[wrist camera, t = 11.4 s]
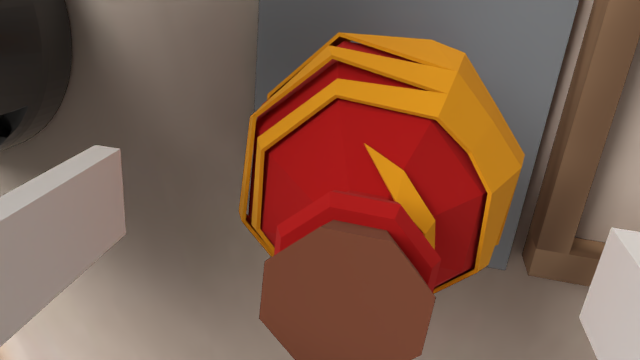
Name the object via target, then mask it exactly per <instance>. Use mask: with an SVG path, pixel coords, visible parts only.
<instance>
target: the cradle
mask: <svg viewBox="0 0 640 360" xmlns="http://www.w3.org/2000/svg"><path fill="white" fill-rule="evenodd" d="M639 37H640V0H594V3H593V7H592V10H591V14H590V17H589V21H588V24H587V28H586V31H585V35H584V38H583V42H582V45H581V49H580V52H579V56H578V59H577V63H576V67H575V70H574V74H573V77H572V81H571V84H570V88H569V91H568V95H567V98H566V102H565V105H564V109H563V112H562V116H561V119H560V123H559V126H558V130H557V133H556V137H555V140H554V144H553V147H552V151H551V154H550V158H549V162H548V165H547V169H546V172H545V176H544V179H543V183H542V186H541V190H540V193H539V197H538V200H537V204H536V207H535V211H534V214H533V218H532V221H531V225H530V228H529V232H528V235H527V239H526V242H525V246H524V250H523V253H522V257H523V260H524V263H525V266H526V270H527V273H528V275H530V276H535V277H541V278H546V279H552V280H557V281H562V282H568V283H573V284H579V285H584V286H590V285H591V282H592V280H593V277H594V274H595V271H596V269H597V266H598V263H599V260H600V257H601V255H602V252H603V249H604V246H605V244H606V243H604V242H598V241H592V240H586V239H580V238H574V237H575V234H576V231H577V228H578V225H579V222H580V219H581V216H582V213H583V210H584V207H585V204H586V201H587V197H588V194H589V191H590V188H591V185H592V182H593V179H594V176H595V173H596V170H597V167H598V164H599V161H600V157H601V154H602V151H603V148H604V145H605V142H606V139H607V136H608V133H609V130H610V127H611V124H612V121H613V117H614V114H615V111H616V108H617V105H618V102H619V99H620V96H621V93H622V90H623V87H624V84H625V81H626V77H627V74H628V71H629V68H630V65H631V62H632V59H633V56H634V53H635V50H636V47H637V44H638V41H639Z"/></svg>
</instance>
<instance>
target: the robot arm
mask: <svg viewBox="0 0 640 360" xmlns="http://www.w3.org/2000/svg"><path fill="white" fill-rule="evenodd" d="M71 58H72V45H71V32H70V24H69V19H68V14H67V10H66V6H65V2H64V0H0V151H2V150H5V149H7V148H10V147H12V146H14V145H17V144H19V143H22V142H24V141H26V140H28V139H29V138H31V137H33V136H34V135H35V134H37V133H38V132H39V131H40V130H42V129H43V128H44V127H45V126H46V125H47V123H48V122H49V121H50V120H51V119H52V117H53V116H54V114H55V113H56V111H57V109H58V108H59V106H60V104H61V102H62V99H63V97H64V94H65V91H66V88H67V85H68V80H69V75H70V69H71ZM125 234H126V224H125V209H124V194H123V180H122V165H121V150H120V149H119V148H113V147H106V146H100V145H94V146H92V147H90V148H89V149H87V150H85V151H83V152H81V153H79V154H78V155H76V156H74V157H72V158H70V159H68V160H67V161H65V162H63V163H61V164H59V165H57V166H56V167H54V168H52V169H50V170H48V171H46V172H45V173H43V174H41V175H39V176H37V177H35V178H34V179H32V180H30V181H28V182H26V183H24V184H23V185H21V186H19V187H17V188H15V189H13V190H11V191H10V192H8V193H6V194H4V195H2V196H0V347H1V346H2V345H3V344H4V343H5V342H6V341H7V340H9V339H10V338H11V337H12V336H13V335H14V334H15V333H16V332H17V331H19V330H20V329H21V328H22V327H23V326H24V325H25V324H26V323H27V322H29V321H30V320H31V319H32V318H33V317H34V316H35V315H36V314H38V313H39V312H40V311H41V310H42V309H43V308H44V307H45V306H46V305H48V304H49V303H50V302H51V301H52V300H53V299H54V298H55V297H56V296H58V295H59V294H60V293H61V292H62V291H63V290H64V289H65V288H66V287H68V286H69V285H70V284H71V283H72V282H73V281H74V280H75V279H76V278H78V277H79V276H80V275H81V274H82V273H83V272H84V271H85V270H87V269H88V268H89V267H90V266H91V265H92V264H93V263H94V262H95V261H97V260H98V259H99V258H100V257H101V256H102V255H103V254H104V253H105V252H107V251H108V250H109V249H110V248H111V247H112V246H113V245H114V244H115V243H117V242H118V241H119V240H120V239H121V238H122V237H123V236H124V235H125ZM579 318H580V321H581V323H582V325H583V328H584V330H585V332H586V335H587V337H588V339H589V342H590V344H591V346H592V349H593V351H594V353H595V355H596V358H597V360H640V232H637V231H631V230H625V229H618V228H612V227H611V230H610V232H609V235H608V238H607V241H606V244H605V246H604V249H603V252H602V255H601V257H600V260H599V263H598V266H597V269H596V271H595V274H594V277H593V280H592V282H591V285H590V288H589V291H588V293H587V296H586V299H585V302H584V305H583V307H582V310H581V313H580V316H579Z"/></svg>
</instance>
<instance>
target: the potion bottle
mask: <svg viewBox="0 0 640 360" xmlns="http://www.w3.org/2000/svg"><path fill="white" fill-rule="evenodd" d="M350 41H355V42H358V43H353V42H350ZM360 43H361V44H360ZM256 119H257V120H256ZM253 146H254V149H253ZM252 155H253V162H252ZM524 156H525V154H524V153H523V151H522V149H521V147H520V145H519V144H518V142H517V140H516V138H515V137H514V135H513V133H512V131H511V130H510V128H509V126H508V124H507V123H506V121H505V119H504V117H503V116H502V114H501V112H500V110H499V109H498V107H497V105H496V104H495V102H494V100H493V98H492V97H491V95H490V93H489V92H488V90H487V88H486V87H485V85H484V83H483V82H482V80H481V78H480V77H479V75H478V73H477V72H476V70H475V68H474V67H473V65H472V63H471V62H470V60H469V58H468V57H467V55H466V53H464V52H462V51H459V50H457V49H454V48H452V47H449V46H446V45H444V44H441V43H439V42H436V41H434V40H430V39H418V38H405V37H392V36H379V35H367V34H354V33H341V32H338V33H337V34H336V35H335V36H334V37H333V38H332V39H330V40H329V41H328V42H327V43H326V44H325V45H323V46H322V47H321V48H320V49H319V50H318V51H317V52H315V53H314V54H313V55H312V56H311V57H310V58H308V59H307V60H306V61H305V62H304V63H303V64H302V65H300V66H299V67H298V68H297V69H296V70H295V71H294V72H292V73H291V74H290V75H289V76H288V77H287V78H285V79H284V80H283V81H282V82H281V83H280V84H279V85H277V86H276V87H275V88H274V89H273V90H272V91H270V92H269V93H268V94H267V101H265V102H264V103H263V104H262V106H261V107H260V108H259V109H258V110H257V111H256V112H255V113H253V114H252V115H251V116H250V121H249V130H248V138H247V146H246V155H245V163H244V171H243V180H242V188H241V196H240V205H239V214H240V217H241V221H242V222H243V223H244V225H245V226H246V227H247V228H248V230H249V231H250V232H251V233H252V234H253V236H254V237H255V238H256V239H257V240H258V242H259V243H260V244H261V245H262V246H263V248H264V249H265V250H266V251H267V253H268V254H269V255H270V256H271V258H269V259H268V260H266V261H265V263H264V274H263V284H262V295H261V305H260V316H259V319H260V320H261V321H262V322H263V323H264V324H265V326H266V327H267V328H268V329H269V330H270V331H271V333H272V334H273V335H274V336H275V337H276V338H277V340H278V341H279V342H280V343H281V344H282V345H283V347H284V348H285V349H286V350H287V351H288V352H289V354H290V355H291V356H292V357H293V358H294V359H295V360H412V359H414V358H416V357H418V356H420V355H421V354H422V350H423V346H424V342H425V338H426V334H427V330H428V326H429V322H430V318H431V314H432V310H433V306H434V303H435V299H436V297H435V296H434V293H436V292H438V291H440V290H442V289H444V288H447V287H449V286H451V285H453V284H455V283H457V282H459V281H461V280H463V279H465V278H467V277H469V276H471V275H473V274H475V273H477V272H479V271H480V270H482V269H483V268H484V267H486V266H487V265H489V262H490V259H491V256H492V253H493V250H494V247H495V246H496V245H498V244H499V241H500V238H501V235H502V231H503V228H504V225H505V221H506V218H507V215H508V211H509V208H510V205H511V201H512V198H513V195H514V191H515V188H516V185H517V182H518V178H519V175H520V172H521V168H522V164H523V160H524ZM251 164H252V175H251V188H250V201H249V214H248V215H249V216H248V215H247V214H246V210H247V201H248V192H249V183H250V174H251Z"/></svg>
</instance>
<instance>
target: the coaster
mask: <svg viewBox="0 0 640 360" xmlns="http://www.w3.org/2000/svg"><path fill="white" fill-rule="evenodd" d="M578 3H579V0H259V16H258V39H257V61H256V83H255V105H254V113H255V112H256V111H257V110H258V109H259V108H260V107H261V106H262V104H263V103H264V102H265V101H267V94H268V93H269V92H270V91H272V90H273V89H274V88H275V87H276V86H277V85H279V84H280V83H281V82H282V81H283V80H284V79H285V78H287V77H288V76H289V75H290V74H291V73H292V72H294V71H295V70H296V69H297V68H298V67H299V66H300V65H302V64H303V63H304V62H305V61H306V60H307V59H308V58H310V57H311V56H312V55H313V54H314V53H315V52H317V51H318V50H319V49H320V48H321V47H322V46H323V45H325V44H326V43H327V42H328V41H329V40H330V39H332V38H333V37H334V36H335V35H336V34H337V33H338V32H341V33H354V34H367V35H379V36H392V37H405V38H418V39H430V40H434V41H436V42H439V43H441V44H444V45H446V46H449V47H452V48H454V49H457V50H459V51H462V52H464V53H466V55H467V57H468V58H469V60H470V62H471V63H472V65H473V67H474V68H475V70H476V72H477V73H478V75H479V77H480V78H481V80H482V82H483V83H484V85H485V87H486V88H487V90H488V92H489V93H490V95H491V97H492V98H493V100H494V102H495V104H496V105H497V107H498V109H499V110H500V112H501V114H502V116H503V117H504V119H505V121H506V123H507V124H508V126H509V128H510V130H511V131H512V133H513V135H514V137H515V138H516V140H517V142H518V144H519V145H520V147H521V149H522V151H523V153H524V154H525V156H524V160H523V164H522V168H521V172H520V175H519V178H518V182H517V185H516V188H515V191H514V195H513V198H512V201H511V205H510V208H509V211H508V215H507V218H506V221H505V225H504V228H503V231H502V235H501V238H500V241H499V244H498V245H496V246H495V247H494V250H493V253H492V256H491V259H490V262H489V265H487V266H486V267H490V268H495V269H501V270H506V266H507V263H508V259H509V255H510V252H511V248H512V244H513V241H514V237H515V233H516V230H517V226H518V222H519V219H520V215H521V211H522V208H523V204H524V200H525V197H526V193H527V189H528V186H529V182H530V178H531V175H532V171H533V167H534V164H535V160H536V156H537V153H538V149H539V145H540V142H541V138H542V134H543V131H544V127H545V123H546V120H547V116H548V113H549V109H550V105H551V102H552V98H553V94H554V91H555V87H556V83H557V80H558V76H559V72H560V69H561V65H562V61H563V58H564V54H565V50H566V47H567V43H568V39H569V36H570V32H571V28H572V25H573V21H574V17H575V14H576V10H577V6H578ZM350 42H353V43H358V42H355V41H350ZM360 44H361V43H360ZM256 120H257V119H256ZM253 149H254V146H253ZM252 162H253V155H252ZM251 175H252V172H251Z"/></svg>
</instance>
